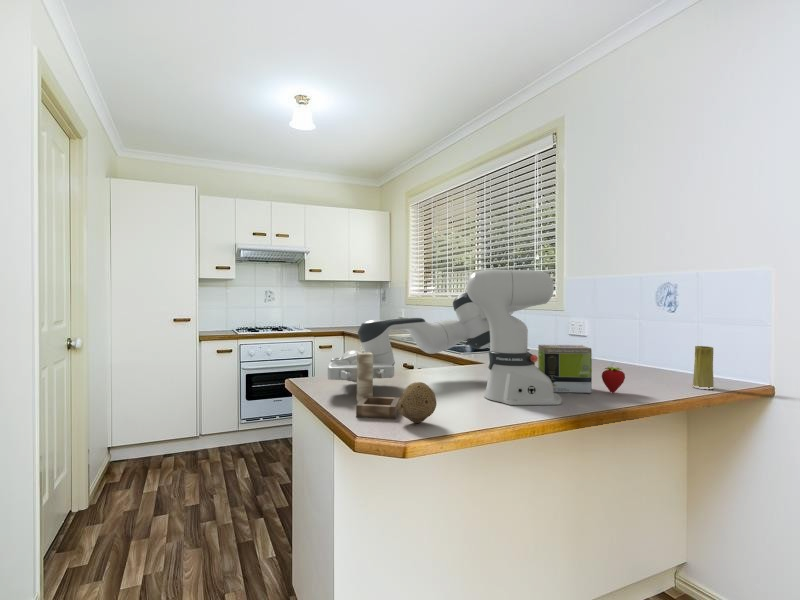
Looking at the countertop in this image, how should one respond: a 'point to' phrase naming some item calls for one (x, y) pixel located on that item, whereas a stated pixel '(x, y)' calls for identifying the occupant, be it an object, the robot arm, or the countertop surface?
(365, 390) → the beige tall block
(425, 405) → the natural sponge
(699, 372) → the vase
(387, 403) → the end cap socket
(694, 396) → the countertop surface
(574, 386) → the tea box
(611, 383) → the strawberry
